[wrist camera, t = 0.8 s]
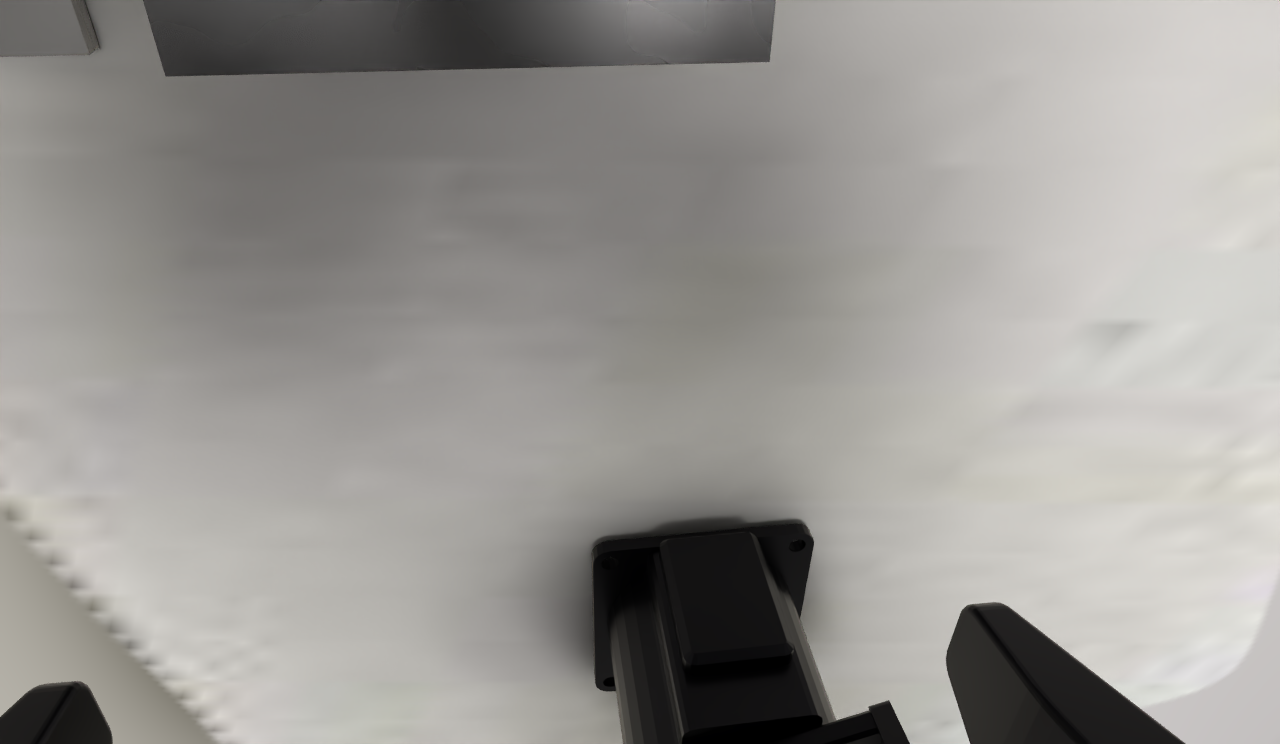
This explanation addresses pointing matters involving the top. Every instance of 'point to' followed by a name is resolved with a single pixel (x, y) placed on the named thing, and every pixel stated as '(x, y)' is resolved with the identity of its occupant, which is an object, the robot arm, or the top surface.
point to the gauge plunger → (452, 34)
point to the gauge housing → (45, 28)
